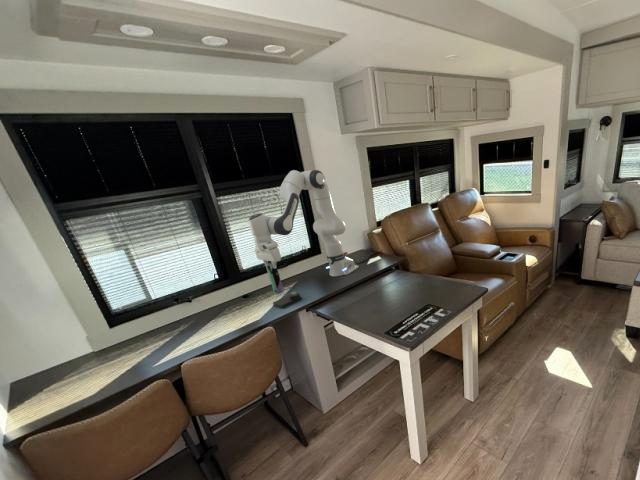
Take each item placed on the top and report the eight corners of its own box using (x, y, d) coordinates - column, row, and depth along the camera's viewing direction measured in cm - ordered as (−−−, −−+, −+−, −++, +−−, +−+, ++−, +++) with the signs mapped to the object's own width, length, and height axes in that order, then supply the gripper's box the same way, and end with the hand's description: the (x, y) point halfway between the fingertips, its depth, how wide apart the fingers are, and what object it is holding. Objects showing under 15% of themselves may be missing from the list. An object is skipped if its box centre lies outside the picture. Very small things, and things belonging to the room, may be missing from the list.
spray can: (283, 293, 182) (273, 260, 175) (274, 295, 181) (263, 262, 174) (284, 289, 187) (274, 258, 180) (274, 291, 186) (264, 260, 179)
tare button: (294, 293, 190) (294, 291, 189) (298, 294, 188) (297, 291, 187) (290, 295, 188) (289, 293, 187) (293, 296, 186) (292, 293, 185)
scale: (292, 296, 196) (291, 290, 194) (303, 299, 189) (301, 293, 188) (273, 305, 186) (271, 299, 185) (283, 309, 180) (281, 302, 178)
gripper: (249, 244, 177) (257, 267, 182) (268, 246, 165) (276, 271, 170) (259, 241, 182) (267, 264, 187) (279, 243, 169) (286, 267, 174)
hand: (271, 267), depth 178 cm, fingers closed on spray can, 5 cm apart
